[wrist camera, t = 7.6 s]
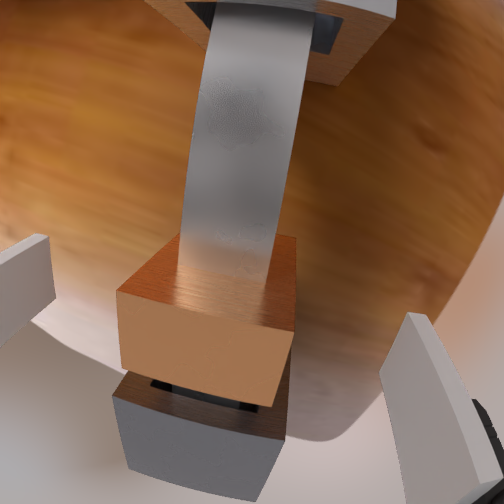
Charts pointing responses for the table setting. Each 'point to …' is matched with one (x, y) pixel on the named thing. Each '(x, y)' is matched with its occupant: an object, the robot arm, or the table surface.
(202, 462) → the socket
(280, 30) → the plug
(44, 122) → the table surface
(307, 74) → the sleeve
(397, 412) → the robot arm
